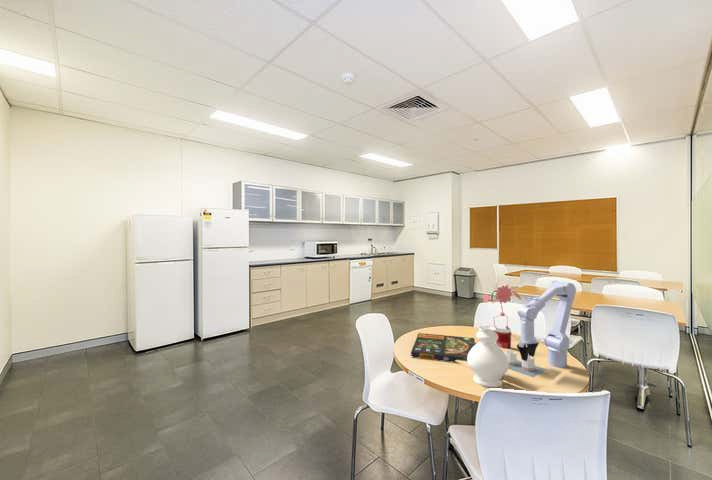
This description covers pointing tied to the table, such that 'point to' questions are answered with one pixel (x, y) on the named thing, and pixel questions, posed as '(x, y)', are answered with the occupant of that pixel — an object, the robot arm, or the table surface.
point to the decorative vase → (487, 358)
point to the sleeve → (528, 364)
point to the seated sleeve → (511, 357)
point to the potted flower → (502, 299)
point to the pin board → (529, 373)
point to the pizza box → (442, 347)
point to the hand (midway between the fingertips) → (527, 358)
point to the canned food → (504, 338)
